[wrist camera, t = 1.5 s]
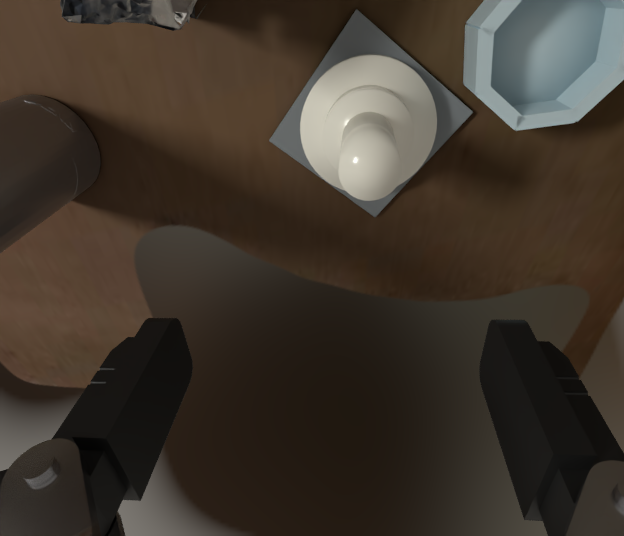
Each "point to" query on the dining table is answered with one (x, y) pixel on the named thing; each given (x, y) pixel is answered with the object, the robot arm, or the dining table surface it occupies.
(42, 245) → the dining table surface
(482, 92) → the bowl
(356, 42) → the mat
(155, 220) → the dining table surface
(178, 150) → the dining table surface
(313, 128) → the lid
